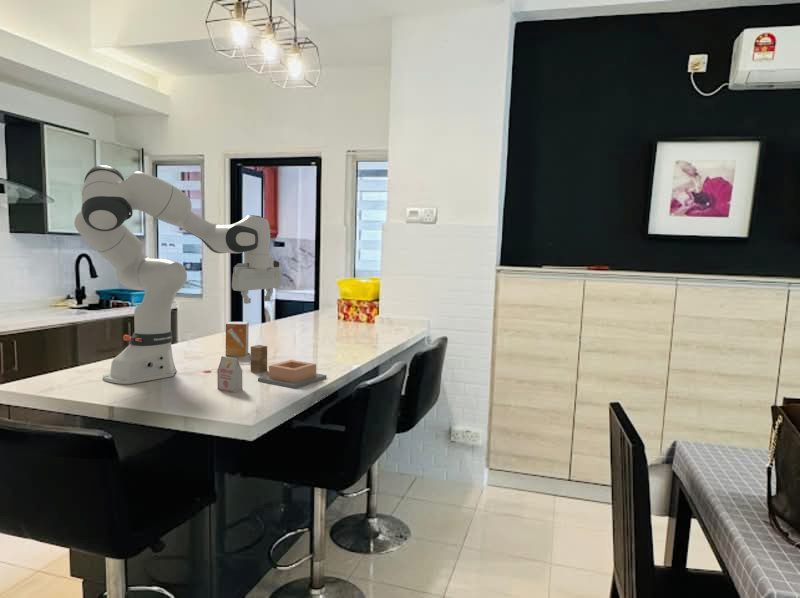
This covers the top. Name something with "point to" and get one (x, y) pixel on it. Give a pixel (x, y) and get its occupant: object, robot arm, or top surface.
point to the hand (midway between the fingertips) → (257, 302)
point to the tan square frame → (292, 374)
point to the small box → (237, 338)
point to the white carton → (229, 375)
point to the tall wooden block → (258, 358)
